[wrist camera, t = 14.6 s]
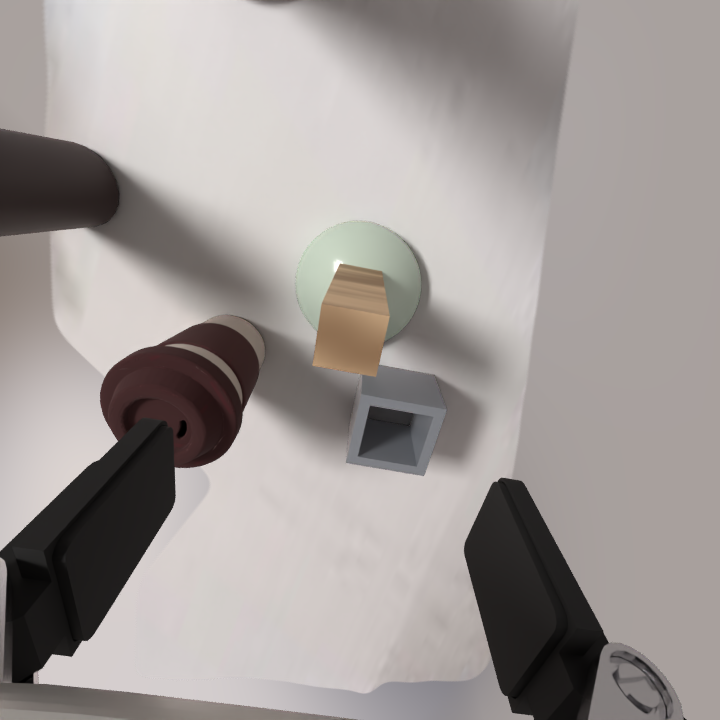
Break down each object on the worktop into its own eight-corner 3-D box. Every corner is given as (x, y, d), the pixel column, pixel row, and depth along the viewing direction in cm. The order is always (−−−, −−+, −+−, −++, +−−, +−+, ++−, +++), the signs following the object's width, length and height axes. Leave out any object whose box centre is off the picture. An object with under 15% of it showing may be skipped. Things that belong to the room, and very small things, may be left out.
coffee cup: (166, 332, 38) (51, 409, 24) (236, 282, 35) (153, 335, 22) (229, 401, 41) (159, 502, 28) (297, 359, 39) (258, 447, 25)
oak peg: (339, 263, 33) (321, 303, 20) (382, 271, 33) (389, 316, 21) (333, 304, 35) (312, 365, 22) (373, 311, 35) (375, 376, 22)
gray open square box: (362, 361, 39) (361, 394, 32) (434, 375, 39) (447, 409, 33) (349, 422, 42) (345, 462, 36) (415, 434, 42) (424, 476, 36)
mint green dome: (306, 208, 32) (303, 208, 31) (434, 235, 33) (436, 236, 32) (291, 330, 37) (288, 334, 36) (403, 352, 38) (404, 356, 37)
